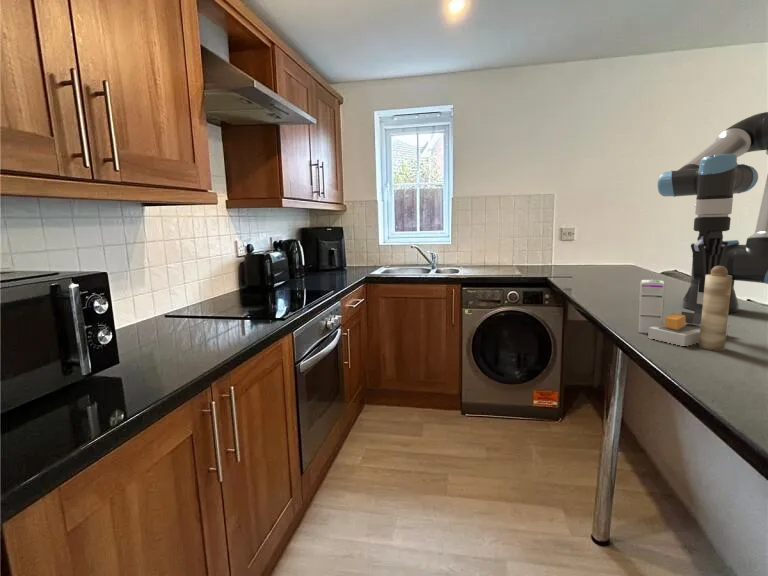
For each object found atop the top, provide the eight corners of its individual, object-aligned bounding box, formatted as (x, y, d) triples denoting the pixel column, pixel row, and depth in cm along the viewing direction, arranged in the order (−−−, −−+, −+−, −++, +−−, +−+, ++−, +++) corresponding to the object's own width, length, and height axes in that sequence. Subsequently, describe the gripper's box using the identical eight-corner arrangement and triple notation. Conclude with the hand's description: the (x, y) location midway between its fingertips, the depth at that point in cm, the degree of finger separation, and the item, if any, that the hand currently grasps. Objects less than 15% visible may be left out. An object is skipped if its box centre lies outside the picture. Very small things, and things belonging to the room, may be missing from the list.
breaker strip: (691, 328, 120) (692, 317, 119) (727, 335, 112) (729, 323, 111) (647, 338, 111) (648, 326, 111) (683, 347, 103) (685, 334, 103)
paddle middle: (687, 322, 113) (689, 312, 113) (699, 324, 110) (701, 314, 110) (679, 321, 111) (682, 311, 111) (692, 323, 109) (694, 313, 109)
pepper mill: (705, 343, 106) (713, 264, 102) (728, 348, 101) (737, 265, 98) (694, 346, 103) (702, 265, 100) (717, 352, 99) (726, 267, 96)
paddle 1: (673, 323, 110) (673, 313, 110) (685, 325, 108) (685, 315, 107) (665, 327, 109) (664, 317, 108) (677, 330, 106) (676, 320, 106)
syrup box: (662, 335, 114) (666, 283, 111) (636, 332, 117) (640, 281, 115) (661, 330, 119) (665, 280, 116) (637, 327, 122) (640, 279, 119)
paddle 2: (700, 319, 116) (702, 309, 115) (712, 321, 113) (714, 311, 113) (692, 318, 114) (695, 308, 114) (705, 320, 111) (707, 310, 111)
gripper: (710, 215, 115) (702, 299, 119) (682, 216, 109) (674, 304, 113) (742, 215, 108) (733, 303, 112) (714, 216, 103) (705, 309, 107)
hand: (703, 303), depth 113 cm, fingers closed
